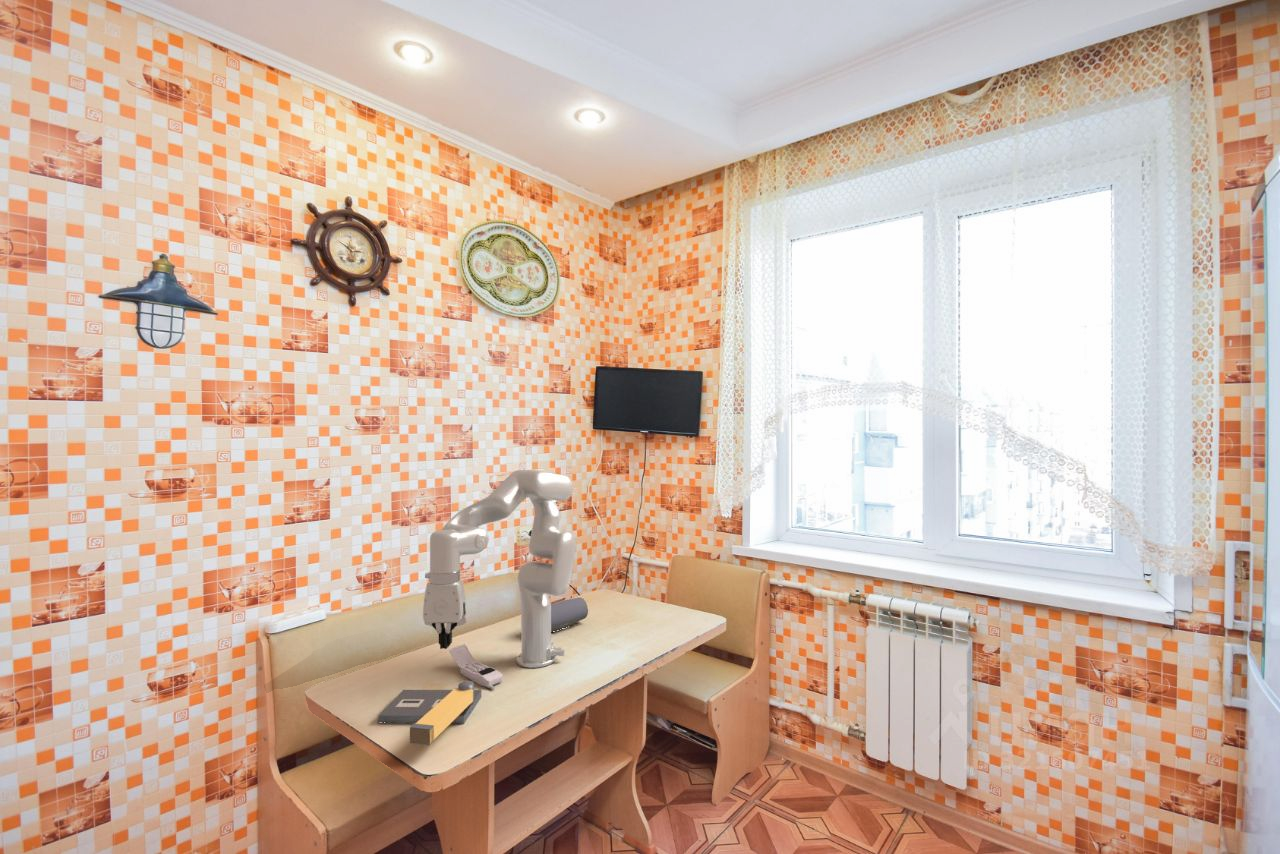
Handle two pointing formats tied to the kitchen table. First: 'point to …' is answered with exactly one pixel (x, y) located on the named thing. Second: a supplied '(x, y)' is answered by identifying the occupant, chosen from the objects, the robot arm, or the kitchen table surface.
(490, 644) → the kitchen table surface
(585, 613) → the bluetooth speaker
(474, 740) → the kitchen table surface
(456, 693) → the bar
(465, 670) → the mobile phone
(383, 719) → the plate
